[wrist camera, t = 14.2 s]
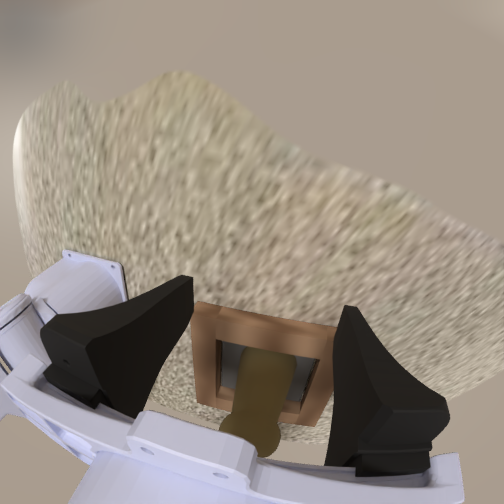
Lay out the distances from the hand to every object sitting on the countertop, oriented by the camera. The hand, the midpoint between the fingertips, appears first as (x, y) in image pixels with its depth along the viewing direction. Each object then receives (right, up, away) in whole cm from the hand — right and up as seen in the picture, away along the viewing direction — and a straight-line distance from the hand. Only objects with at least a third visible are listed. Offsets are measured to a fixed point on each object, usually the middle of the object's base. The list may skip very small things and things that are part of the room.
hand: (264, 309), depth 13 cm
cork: (+1, -9, +15) cm, 18 cm away
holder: (+1, -10, +16) cm, 19 cm away
